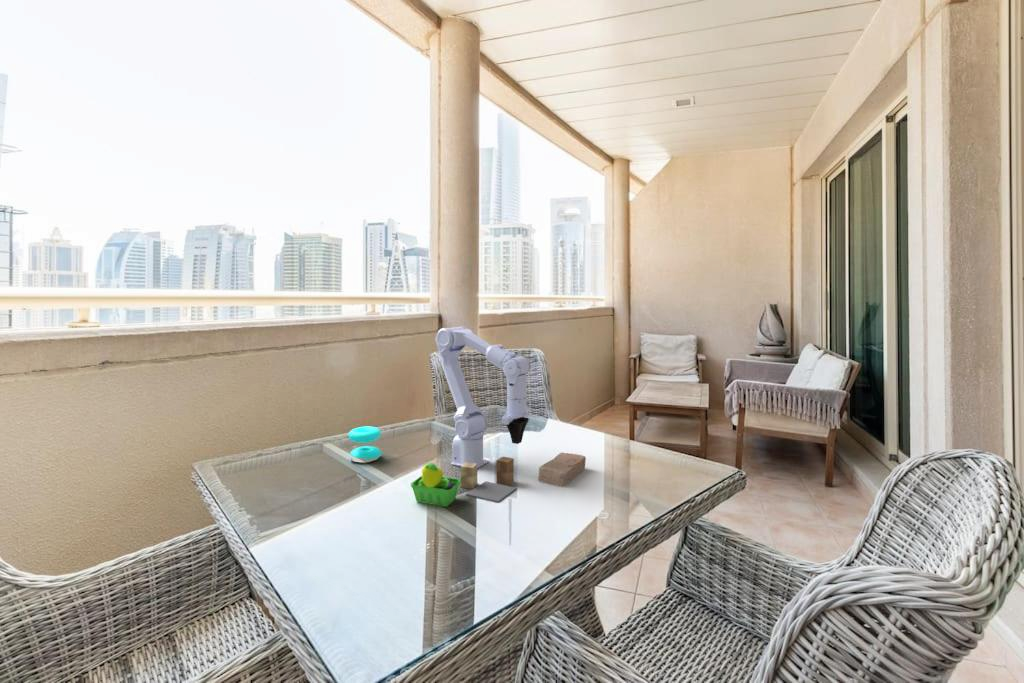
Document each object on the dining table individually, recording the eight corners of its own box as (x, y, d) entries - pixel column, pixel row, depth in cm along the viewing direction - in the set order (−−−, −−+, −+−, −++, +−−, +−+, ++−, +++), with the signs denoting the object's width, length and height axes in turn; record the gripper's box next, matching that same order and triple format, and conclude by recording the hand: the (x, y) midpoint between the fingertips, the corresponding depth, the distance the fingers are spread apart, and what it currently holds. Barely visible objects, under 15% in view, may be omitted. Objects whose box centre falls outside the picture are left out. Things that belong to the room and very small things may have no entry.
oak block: (461, 487, 139) (460, 466, 138) (465, 482, 143) (465, 462, 142) (473, 488, 138) (473, 467, 138) (477, 483, 142) (477, 463, 141)
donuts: (372, 434, 156) (342, 433, 157) (373, 465, 157) (344, 464, 158) (385, 425, 166) (356, 424, 167) (386, 455, 167) (357, 453, 168)
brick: (562, 488, 139) (563, 472, 139) (536, 482, 143) (536, 466, 143) (586, 470, 153) (586, 455, 153) (561, 465, 157) (561, 451, 157)
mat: (466, 495, 134) (466, 493, 134) (485, 482, 142) (485, 481, 142) (498, 502, 129) (498, 501, 129) (516, 489, 138) (516, 487, 138)
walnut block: (496, 484, 141) (496, 460, 141) (502, 479, 145) (502, 456, 144) (507, 486, 140) (507, 462, 139) (513, 482, 143) (513, 458, 142)
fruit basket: (462, 497, 132) (461, 456, 131) (447, 511, 124) (446, 467, 123) (424, 492, 136) (423, 452, 135) (407, 505, 128) (406, 462, 127)
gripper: (516, 404, 138) (517, 451, 139) (539, 394, 150) (539, 438, 152) (495, 401, 141) (495, 447, 142) (519, 392, 154) (519, 434, 155)
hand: (516, 442), depth 147 cm, fingers closed
